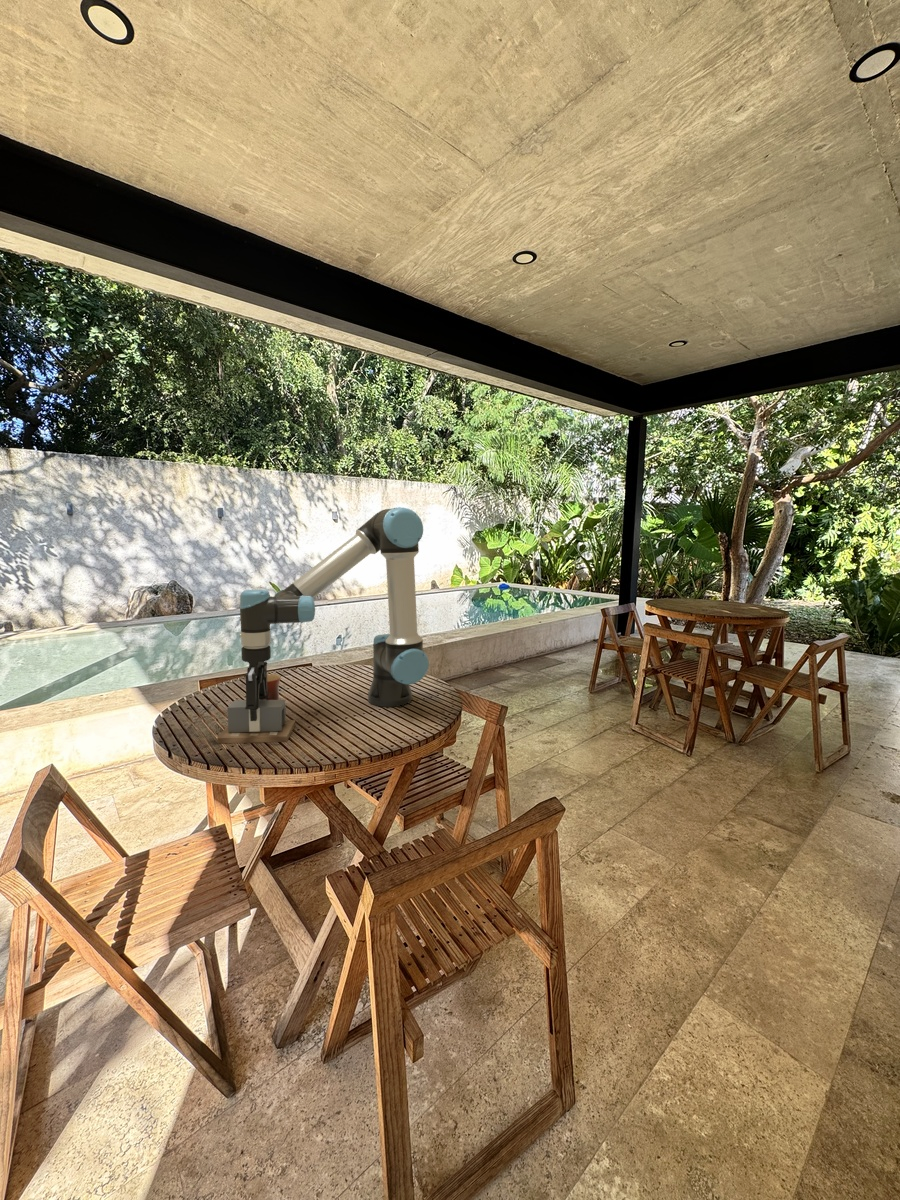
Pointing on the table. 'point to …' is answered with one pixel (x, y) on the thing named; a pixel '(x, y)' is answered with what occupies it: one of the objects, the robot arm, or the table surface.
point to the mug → (273, 686)
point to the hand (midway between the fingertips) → (258, 726)
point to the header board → (257, 735)
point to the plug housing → (269, 716)
